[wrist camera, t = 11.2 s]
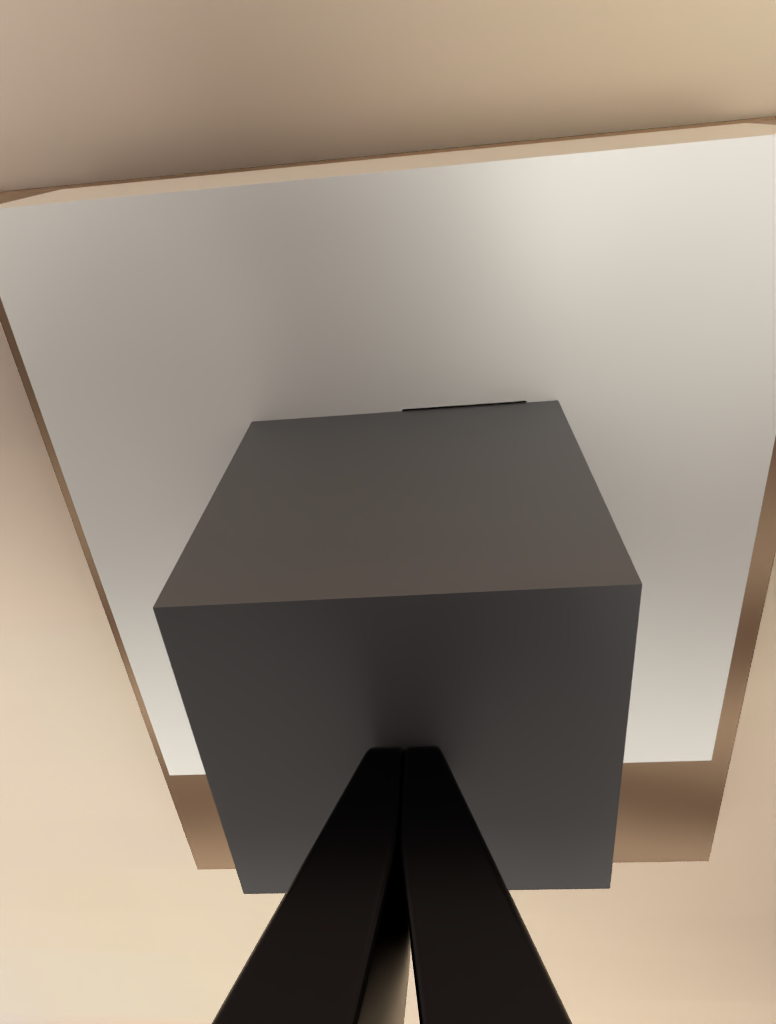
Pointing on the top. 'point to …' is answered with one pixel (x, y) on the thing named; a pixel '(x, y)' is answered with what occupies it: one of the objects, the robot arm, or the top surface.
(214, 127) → the top surface
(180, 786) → the walnut board
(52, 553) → the top surface
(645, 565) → the socket
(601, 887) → the charcoal cube
